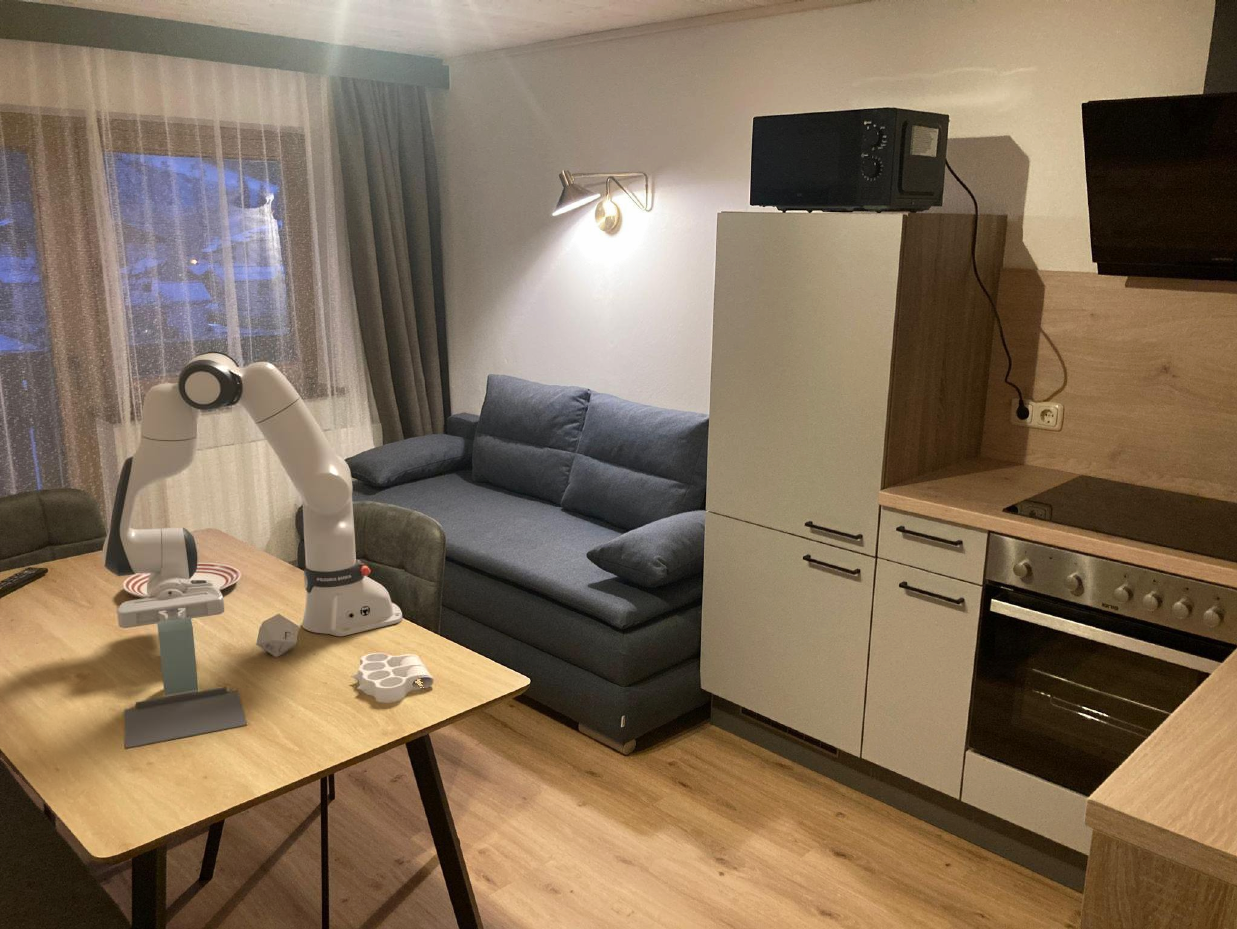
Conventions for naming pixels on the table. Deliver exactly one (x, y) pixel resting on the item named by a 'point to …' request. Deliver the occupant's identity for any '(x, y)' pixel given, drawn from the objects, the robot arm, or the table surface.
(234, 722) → the charcoal mat
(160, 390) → the robot arm
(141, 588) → the dinner plate
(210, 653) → the table surface
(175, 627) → the block
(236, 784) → the table surface
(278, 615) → the die
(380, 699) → the white multi-hole holder
